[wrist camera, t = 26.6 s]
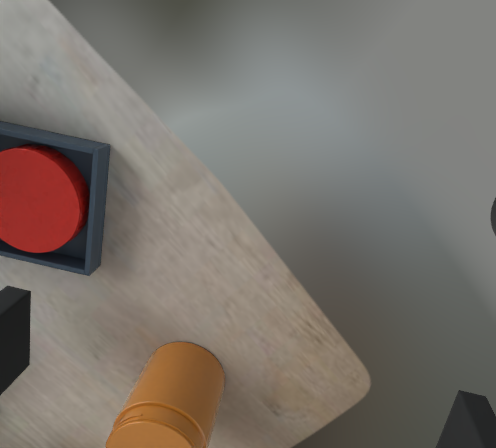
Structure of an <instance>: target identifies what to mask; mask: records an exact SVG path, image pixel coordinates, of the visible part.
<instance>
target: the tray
mask: <svg viewBox="0 0 496 448" xmlns="http://www.w3.org/2000/svg"><path fill="white" fill-rule="evenodd" d="M28 143H29V144H37V145H45V146H47V147H50V148H52V149H55V150H56V151H58V152H61V153H62V154H63V155H65V156H66V157H67V158H68V159H70V160H71V161H72V162H73V163H74V164H75V166H76V167H77V168H78V169H79V171H80V172H81V174H82V175H83V177H84V179H85V181H86V184H87V186H88V190H89V193H90V202H89V216H88V219H87V222H86V225H85V226H84V227H83V229H82V230H81V231H80V232H79V233H78V235H77V236H76V237H75V238H73V239H72V240H71V241H68V242H67V243H65V244H64V245H63V246H61V247H59V248H58V249H55V250H53V251H49V252H43V253H33V252H27V251H23V250H20V249H17V248H15V247H13V246H11V245H9V244H8V243H6V242H5V241H3V240H2V239H1V238H0V255H1V256H5V257H10V258H14V259H18V260H22V261H27V262H31V263H35V264H40V265H44V266H48V267H53V268H57V269H61V270H66V271H70V272H74V273H78V274H83V275H87V276H90V275H91V274H92V273H93V272H94V271H95V270H96V269H97V268H98V267H99V266H100V263H101V251H102V239H103V227H104V215H105V203H106V191H107V179H108V167H109V155H110V145H109V144H105V143H100V142H95V141H91V140H86V139H81V138H77V137H72V136H67V135H63V134H58V133H53V132H49V131H44V130H39V129H35V128H30V127H25V126H21V125H16V124H11V123H7V122H2V121H0V152H2V150H5V149H9V148H12V147H18V146H21V145H24V144H28Z"/></svg>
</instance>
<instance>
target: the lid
mask: <svg viewBox="0 0 496 448" xmlns="http://www.w3.org/2000/svg"><path fill="white" fill-rule="evenodd" d="M89 202H90V193H89V190H88V186H87V184H86V181H85V179H84V177H83V175H82V174H81V172H80V171H79V169H78V168H77V167H76V166H75V164H74V163H73V162H72V161H71V160H70V159H68V158H67V157H66V156H65V155H63V154H62V153H61V152H58V151H56V150H55V149H52V148H50V147H47V146H45V145H37V144H29V143H28V144H24V145H21V146H18V147H12V148H9V149H5V150H2V152H0V238H1V239H2V240H3V241H5V242H6V243H8V244H9V245H11V246H13V247H15V248H17V249H20V250H23V251H27V252H33V253H43V252H49V251H53V250H55V249H58V248H59V247H61V246H63V245H64V244H65V243H67V242H68V241H71V240H72V239H73V238H75V237H76V236H77V235H78V233H79V232H80V231H81V230H82V229H83V227H84V226H85V225H86V222H87V219H88V216H89Z"/></svg>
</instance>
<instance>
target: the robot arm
mask: <svg viewBox="0 0 496 448" xmlns="http://www.w3.org/2000/svg"><path fill="white" fill-rule="evenodd" d="M30 303H31V291H28V290H23V289H19V288H15V287H10V286H6V287H5V288H4V289H2V290H1V291H0V395H1V394H2V393H3V392H4V391H5V390H6V389H7V388H8V387H9V386H10V385H11V384H12V382H13V381H14V380H15V379H16V378H17V377H18V376H19V375H20V374H21V373H22V372H23V371H24V370H25V369H26V368H27V367H28V366H29V359H30ZM436 448H496V416H495V414H494V412H493V410H492V408H491V406H490V404H489V402H488V400H487V398H486V397H485V396H482V395H477V394H473V393H469V392H464V391H460V390H459V391H458V394H457V396H456V399H455V401H454V404H453V406H452V409H451V411H450V414H449V416H448V419H447V421H446V424H445V426H444V429H443V431H442V434H441V436H440V439H439V441H438V444H437V446H436Z"/></svg>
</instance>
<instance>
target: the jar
mask: <svg viewBox="0 0 496 448" xmlns="http://www.w3.org/2000/svg"><path fill="white" fill-rule="evenodd" d="M224 387H225V375H224V371H223V369H222V367H221V365H220V363H219V361H218V360H217V359H216V358H215V357H214V356H213V355H212V354H211V353H210V352H209V351H207V350H206V349H204V348H202V347H200V346H198V345H195V344H192V343H187V342H173V343H169V344H166V345H163V346H161V347H160V348H158V349H157V350H156V351H154V352H153V354H152V355H151V356H150V358H149V360H148V361H147V363H146V365H145V367H144V369H143V370H142V372H141V374H140V376H139V378H138V380H137V381H136V383H135V385H134V387H133V389H132V391H131V392H130V394H129V396H128V398H127V400H126V402H125V403H124V405H123V407H122V409H121V411H120V413H119V414H118V416H117V418H116V420H115V422H114V425H113V430H112V432H111V434H110V436H109V438H108V440H107V442H106V448H208V446H209V442H210V439H211V435H212V431H213V427H214V424H215V420H216V416H217V413H218V409H219V405H220V402H221V398H222V394H223V390H224Z"/></svg>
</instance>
